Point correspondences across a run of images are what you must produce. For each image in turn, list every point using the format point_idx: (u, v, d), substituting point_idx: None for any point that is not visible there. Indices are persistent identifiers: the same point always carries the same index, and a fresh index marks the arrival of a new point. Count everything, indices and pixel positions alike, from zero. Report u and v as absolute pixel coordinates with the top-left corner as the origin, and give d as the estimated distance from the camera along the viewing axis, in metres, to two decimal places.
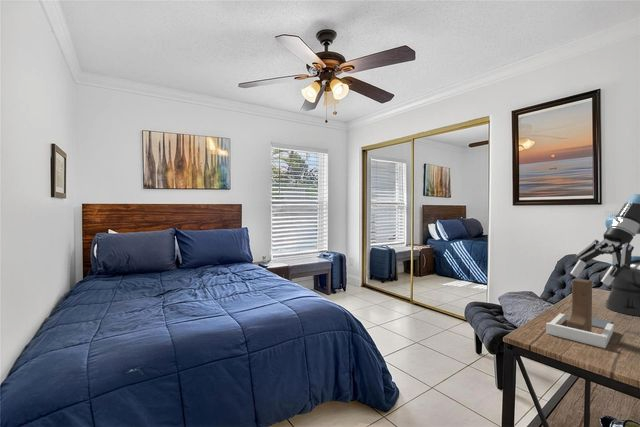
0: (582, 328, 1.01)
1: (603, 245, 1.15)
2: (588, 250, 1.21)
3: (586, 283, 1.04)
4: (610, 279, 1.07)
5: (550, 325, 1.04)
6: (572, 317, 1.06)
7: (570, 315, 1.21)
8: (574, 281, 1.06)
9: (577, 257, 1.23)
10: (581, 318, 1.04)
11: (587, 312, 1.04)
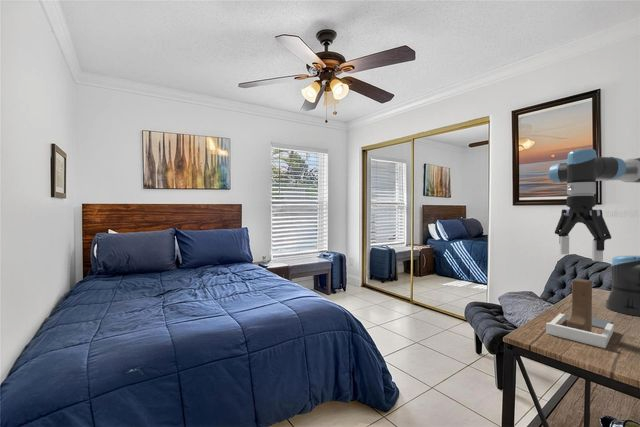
0: (582, 328, 1.01)
1: (573, 216, 1.06)
2: (562, 222, 1.12)
3: (586, 283, 1.04)
4: (599, 254, 0.98)
5: (550, 325, 1.04)
6: (572, 317, 1.06)
7: (570, 315, 1.21)
8: (574, 281, 1.06)
9: (557, 233, 1.14)
10: (581, 318, 1.04)
11: (587, 312, 1.04)
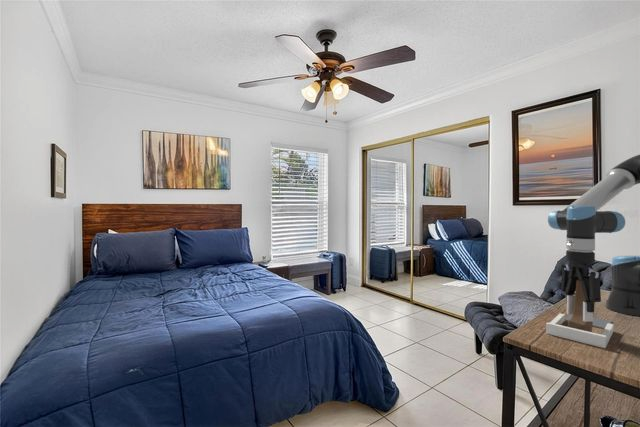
0: (583, 328, 1.01)
1: (573, 270, 1.06)
2: (566, 278, 1.10)
3: None
4: (589, 315, 1.01)
5: (550, 325, 1.04)
6: (573, 317, 1.05)
7: (570, 315, 1.21)
8: (578, 281, 1.05)
9: (563, 290, 1.11)
10: (582, 318, 1.04)
11: None
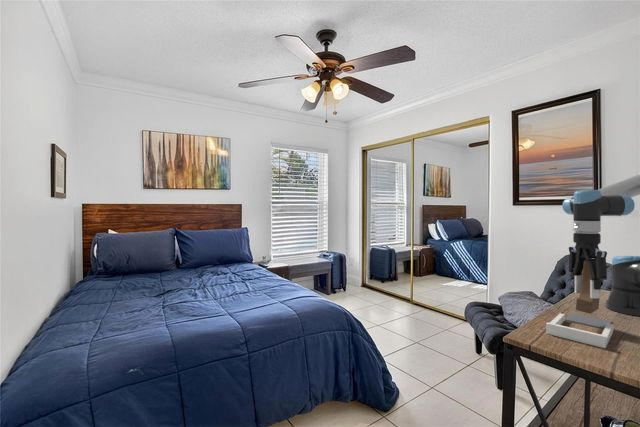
0: (590, 305, 1.08)
1: (580, 251, 1.13)
2: (573, 260, 1.17)
3: None
4: (596, 292, 1.08)
5: (550, 325, 1.04)
6: (581, 295, 1.12)
7: (570, 315, 1.21)
8: (585, 261, 1.12)
9: (571, 271, 1.18)
10: (589, 295, 1.10)
11: None
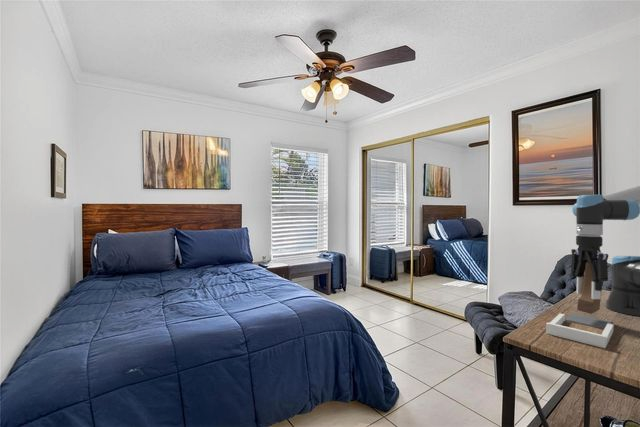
0: (591, 305, 1.12)
1: (582, 253, 1.17)
2: (575, 261, 1.21)
3: None
4: (597, 293, 1.12)
5: (550, 325, 1.04)
6: (583, 295, 1.16)
7: (570, 315, 1.21)
8: (587, 263, 1.16)
9: (573, 273, 1.21)
10: None
11: None
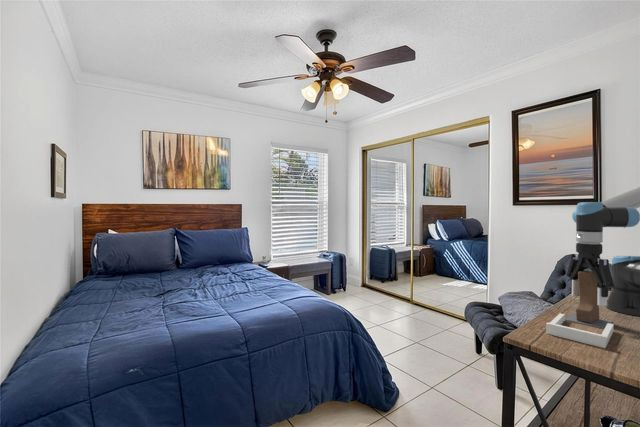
0: (589, 314, 1.12)
1: (582, 261, 1.17)
2: (573, 266, 1.22)
3: (590, 273, 1.16)
4: (603, 299, 1.10)
5: (550, 325, 1.04)
6: (580, 305, 1.17)
7: (570, 315, 1.21)
8: (579, 272, 1.18)
9: (568, 276, 1.24)
10: (588, 305, 1.15)
11: (593, 300, 1.15)
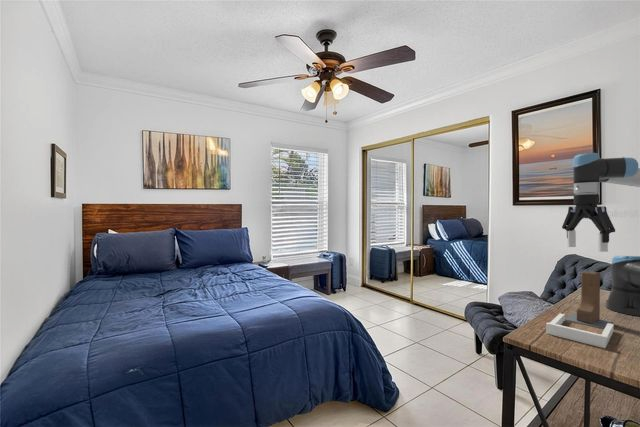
0: (590, 315, 1.12)
1: (579, 212, 1.19)
2: (569, 218, 1.25)
3: (594, 275, 1.15)
4: (604, 245, 1.11)
5: (550, 325, 1.04)
6: (581, 305, 1.17)
7: (570, 315, 1.21)
8: (583, 273, 1.17)
9: (564, 228, 1.27)
10: (589, 306, 1.15)
11: (595, 301, 1.14)
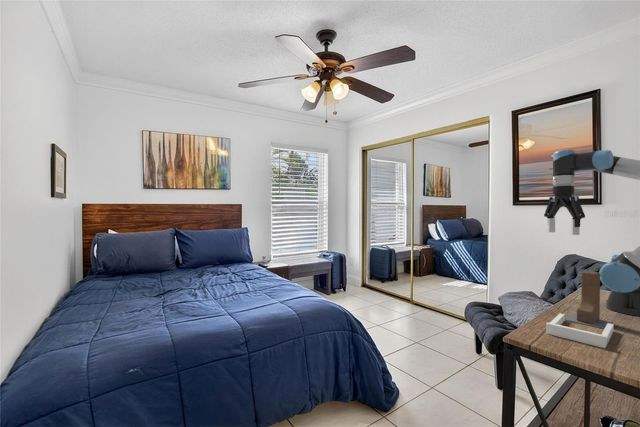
0: (590, 315, 1.12)
1: (557, 202, 1.37)
2: (550, 207, 1.42)
3: (594, 275, 1.15)
4: (576, 229, 1.28)
5: (550, 325, 1.04)
6: (581, 305, 1.17)
7: (570, 315, 1.21)
8: (583, 273, 1.17)
9: (545, 216, 1.45)
10: (589, 306, 1.15)
11: (595, 301, 1.14)
